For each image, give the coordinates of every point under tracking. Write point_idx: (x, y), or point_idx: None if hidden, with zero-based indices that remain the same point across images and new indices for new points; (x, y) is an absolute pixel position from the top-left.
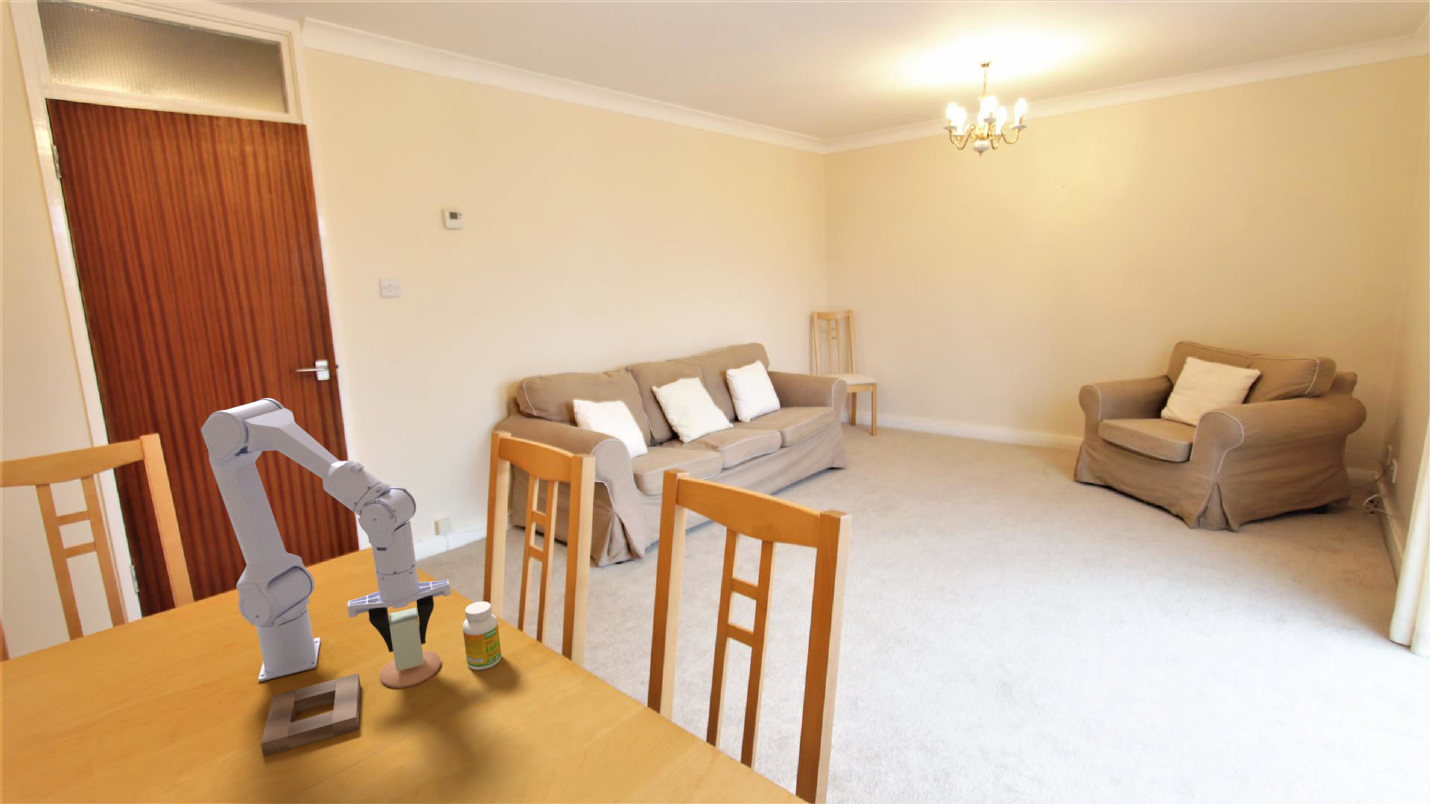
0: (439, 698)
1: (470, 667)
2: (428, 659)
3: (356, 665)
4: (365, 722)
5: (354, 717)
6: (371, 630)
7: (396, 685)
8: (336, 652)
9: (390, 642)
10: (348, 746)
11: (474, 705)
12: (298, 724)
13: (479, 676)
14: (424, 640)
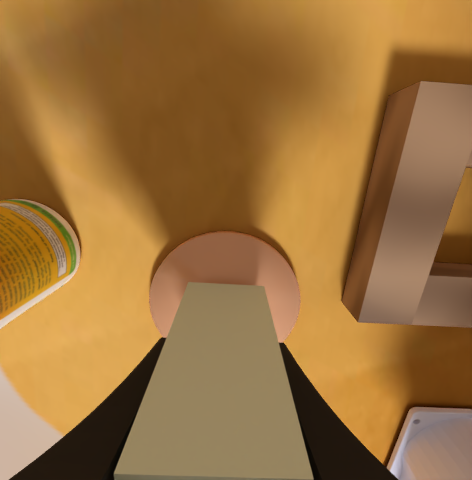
0: (162, 123)
1: (69, 226)
2: None
3: (334, 378)
4: (364, 121)
5: (425, 82)
6: None
7: (267, 245)
8: (360, 437)
9: (287, 371)
10: (431, 15)
11: (53, 7)
12: None
13: (46, 174)
14: (156, 345)
